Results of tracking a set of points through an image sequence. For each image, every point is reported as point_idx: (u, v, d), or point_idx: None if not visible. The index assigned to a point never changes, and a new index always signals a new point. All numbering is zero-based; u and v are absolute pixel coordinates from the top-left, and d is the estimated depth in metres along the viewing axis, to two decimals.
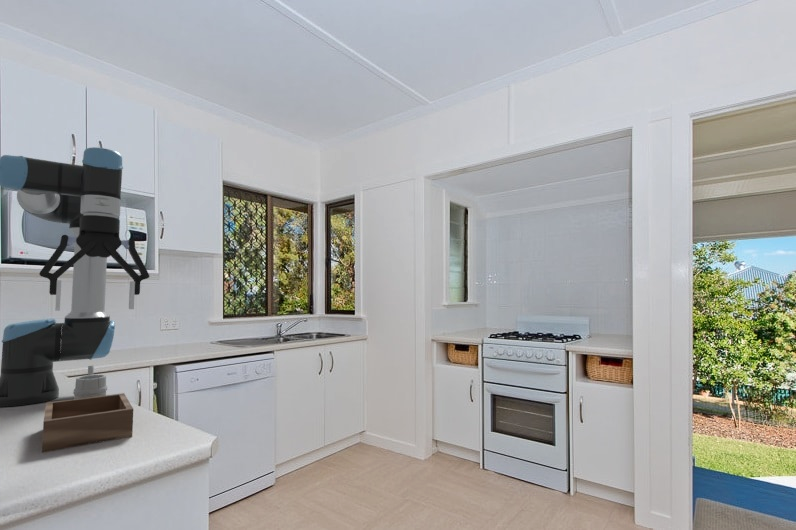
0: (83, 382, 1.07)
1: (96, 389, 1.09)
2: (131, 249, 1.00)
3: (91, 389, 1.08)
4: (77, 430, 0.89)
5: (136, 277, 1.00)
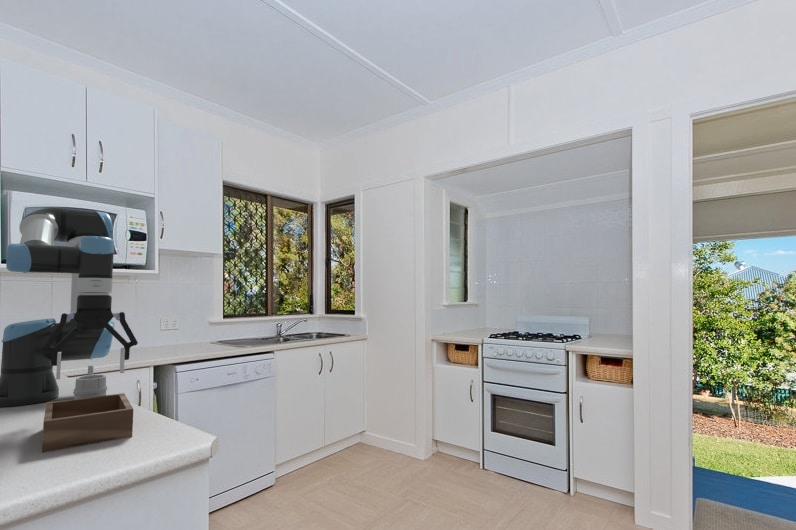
0: (83, 382, 1.07)
1: (96, 389, 1.09)
2: (121, 321, 1.16)
3: (91, 389, 1.08)
4: (77, 430, 0.89)
5: (126, 345, 1.16)
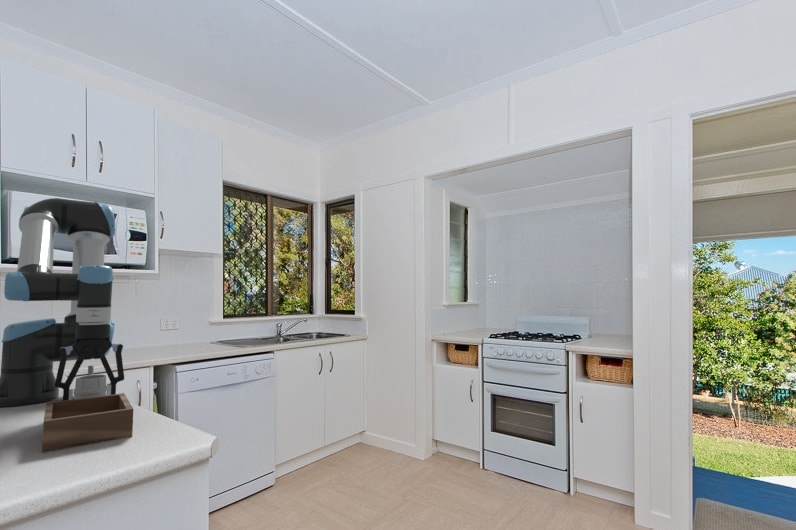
0: (83, 382, 1.07)
1: (96, 389, 1.09)
2: (117, 353, 1.15)
3: (91, 389, 1.08)
4: (77, 430, 0.89)
5: (112, 380, 1.14)
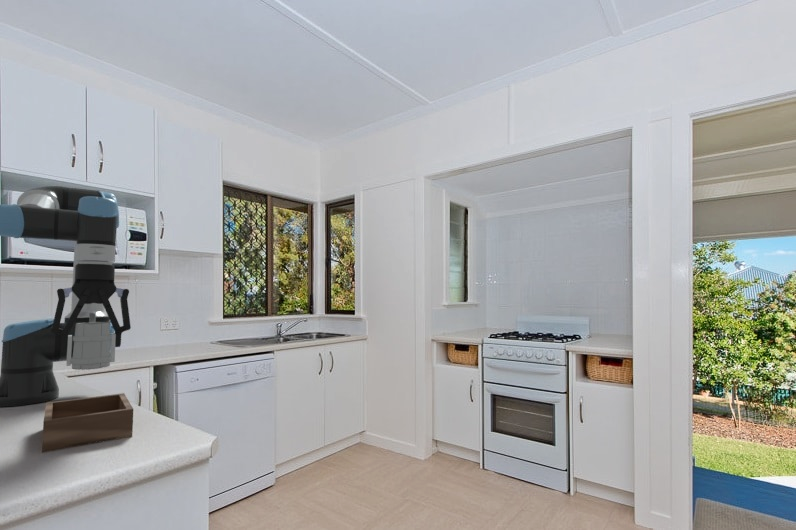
0: (84, 327, 0.94)
1: (98, 336, 0.95)
2: (123, 298, 1.01)
3: (93, 336, 0.94)
4: (77, 430, 0.89)
5: (117, 329, 1.00)
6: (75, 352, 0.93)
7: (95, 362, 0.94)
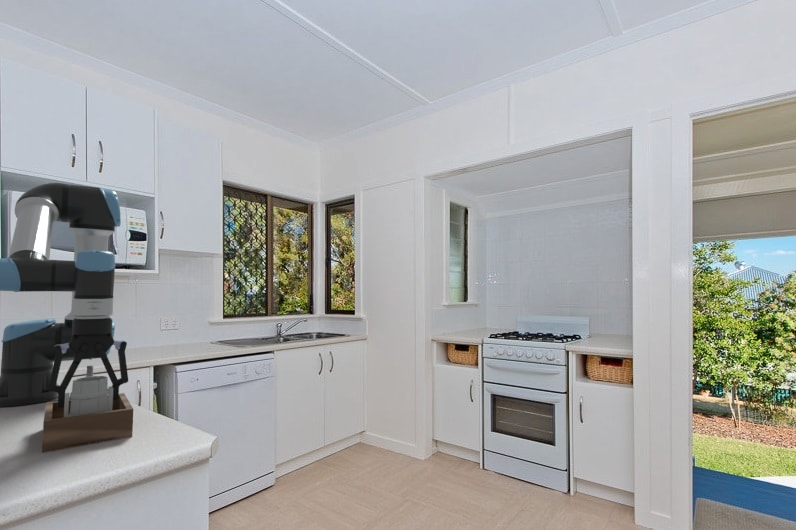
0: (81, 384, 0.93)
1: (96, 393, 0.94)
2: (120, 351, 1.01)
3: (90, 393, 0.93)
4: (77, 430, 0.89)
5: (115, 383, 1.00)
6: (72, 410, 0.93)
7: None
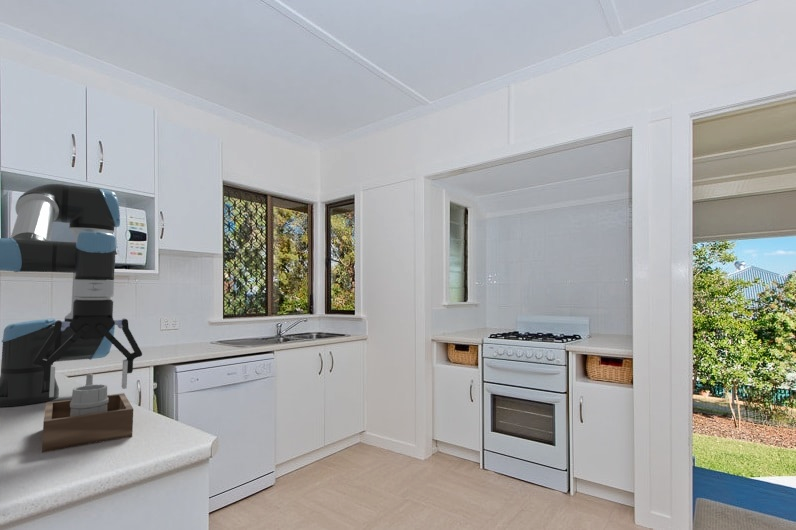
0: (81, 393, 0.93)
1: (95, 402, 0.94)
2: (124, 329, 1.01)
3: (90, 402, 0.93)
4: (77, 430, 0.89)
5: (129, 356, 1.02)
6: None
7: None
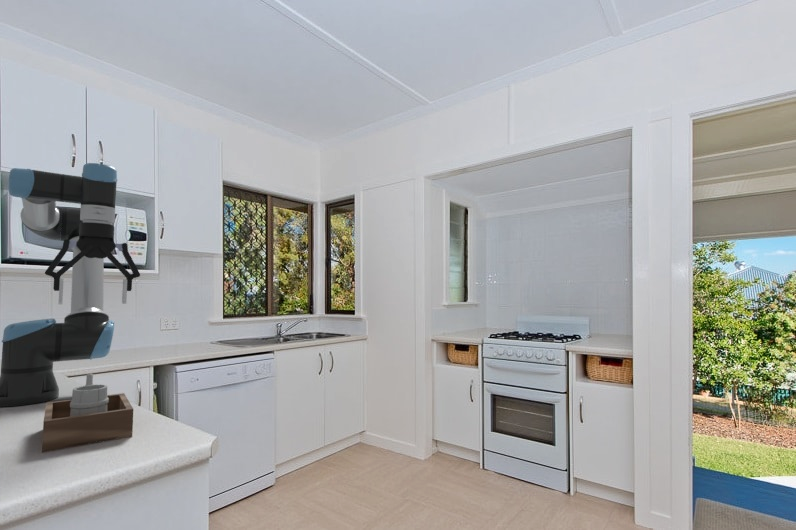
0: (81, 393, 0.93)
1: (95, 402, 0.94)
2: (124, 251, 1.15)
3: (90, 402, 0.93)
4: (77, 430, 0.89)
5: (128, 276, 1.16)
6: None
7: None
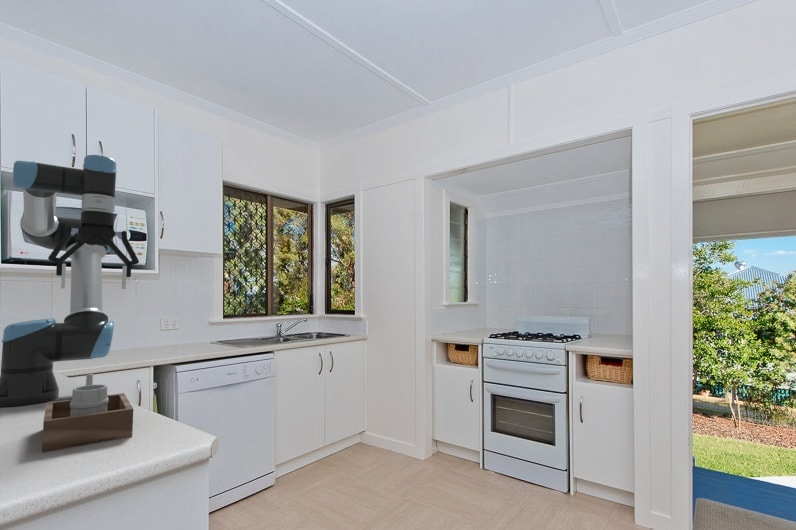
0: (81, 393, 0.93)
1: (95, 402, 0.94)
2: (123, 239, 1.21)
3: (90, 402, 0.93)
4: (77, 430, 0.89)
5: (128, 262, 1.21)
6: None
7: None
